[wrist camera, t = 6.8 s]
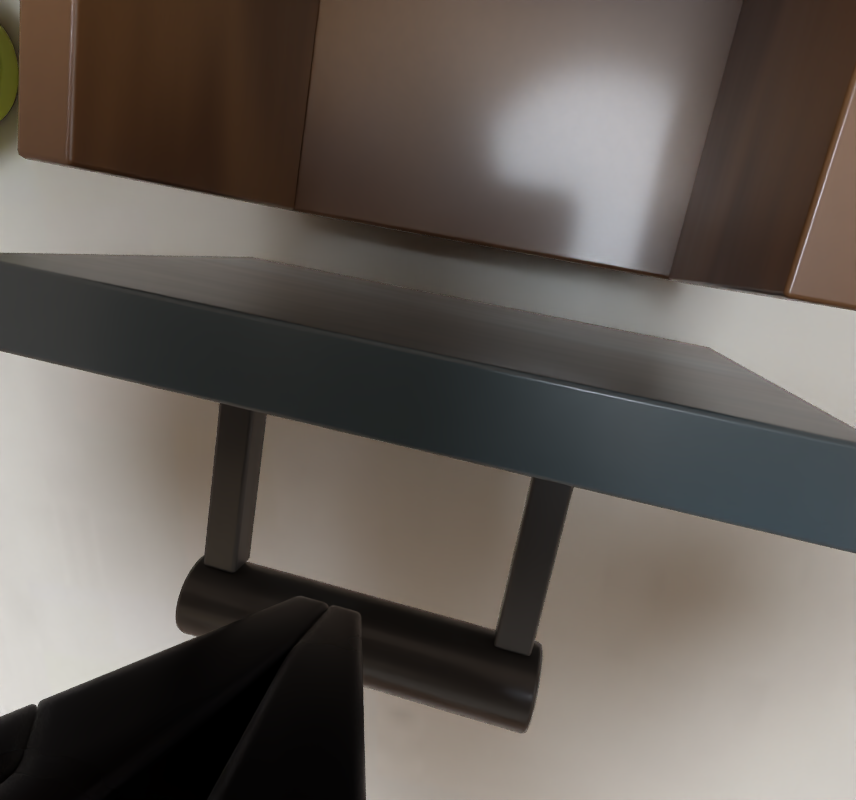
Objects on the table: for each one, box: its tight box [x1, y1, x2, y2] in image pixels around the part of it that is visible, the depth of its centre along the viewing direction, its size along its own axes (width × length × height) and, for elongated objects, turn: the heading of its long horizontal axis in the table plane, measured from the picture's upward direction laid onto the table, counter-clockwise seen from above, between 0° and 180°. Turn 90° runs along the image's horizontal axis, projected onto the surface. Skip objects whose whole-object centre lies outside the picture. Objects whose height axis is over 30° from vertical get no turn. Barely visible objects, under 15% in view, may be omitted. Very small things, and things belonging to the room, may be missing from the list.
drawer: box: [0, 0, 856, 733], centre depth 10 cm, size 19×11×8 cm, turn 169°
